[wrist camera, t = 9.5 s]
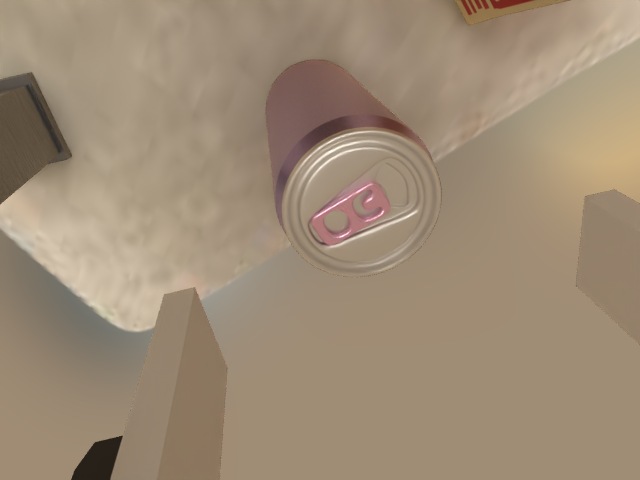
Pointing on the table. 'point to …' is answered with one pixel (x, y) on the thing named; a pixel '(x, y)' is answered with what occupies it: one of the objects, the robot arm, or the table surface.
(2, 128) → the stile
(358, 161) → the beverage can
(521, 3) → the milk carton
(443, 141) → the table surface
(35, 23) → the table surface
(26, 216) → the table surface
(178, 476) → the robot arm
